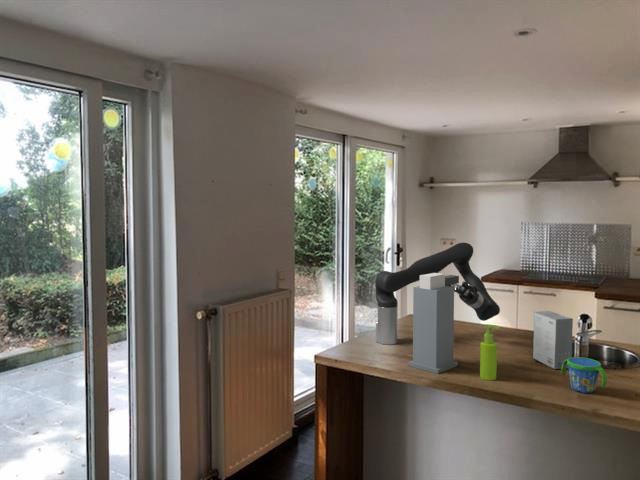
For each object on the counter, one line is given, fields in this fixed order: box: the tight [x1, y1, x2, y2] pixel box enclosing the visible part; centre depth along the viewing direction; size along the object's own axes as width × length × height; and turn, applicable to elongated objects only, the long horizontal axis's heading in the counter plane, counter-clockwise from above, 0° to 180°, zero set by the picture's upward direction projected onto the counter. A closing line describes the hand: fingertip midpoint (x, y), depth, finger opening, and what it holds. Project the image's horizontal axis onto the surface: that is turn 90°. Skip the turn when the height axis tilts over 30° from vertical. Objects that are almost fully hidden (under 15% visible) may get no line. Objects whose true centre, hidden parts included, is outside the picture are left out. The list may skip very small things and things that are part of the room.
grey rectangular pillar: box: [407, 285, 459, 375], centre depth 209 cm, size 14×14×32 cm
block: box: [419, 272, 460, 290], centre depth 210 cm, size 21×5×5 cm, turn 133°
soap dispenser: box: [479, 324, 501, 381], centre depth 194 cm, size 6×7×20 cm
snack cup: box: [560, 356, 608, 394], centre depth 182 cm, size 16×10×10 cm
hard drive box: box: [532, 310, 574, 370], centre depth 211 cm, size 16×8×20 cm, turn 9°
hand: (453, 282), depth 217 cm, fingers open, 8 cm apart
